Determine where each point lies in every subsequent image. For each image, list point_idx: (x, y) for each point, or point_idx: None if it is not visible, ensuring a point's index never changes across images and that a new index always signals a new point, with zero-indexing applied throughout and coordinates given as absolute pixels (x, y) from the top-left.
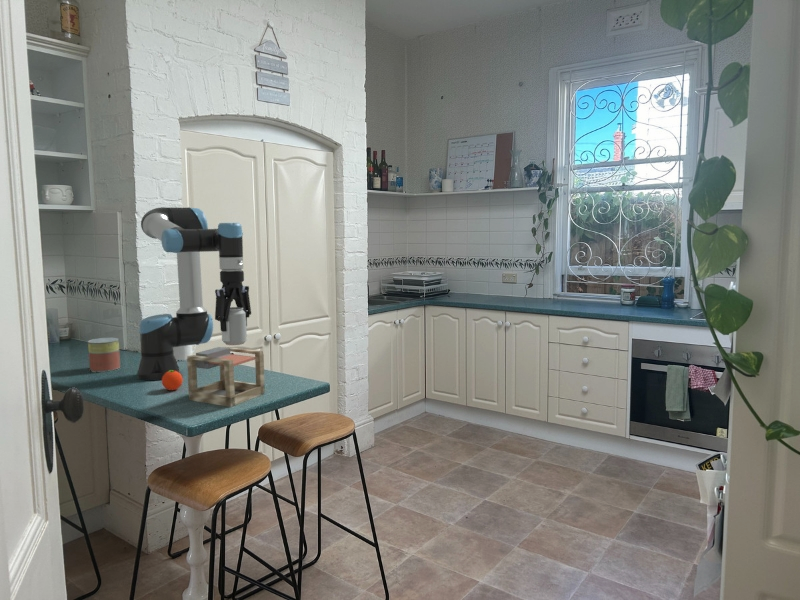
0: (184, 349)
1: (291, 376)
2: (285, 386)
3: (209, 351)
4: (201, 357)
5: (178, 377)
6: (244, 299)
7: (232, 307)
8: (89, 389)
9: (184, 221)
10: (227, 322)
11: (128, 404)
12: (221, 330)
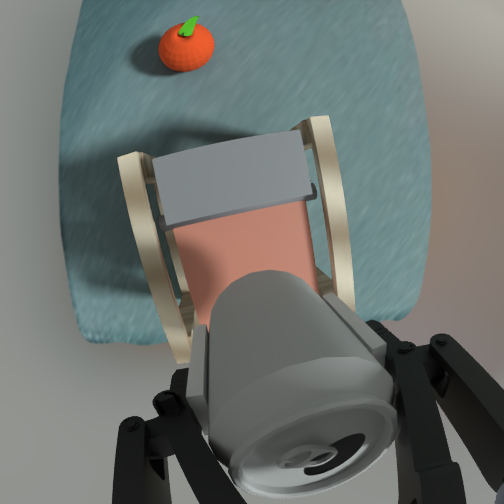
0: None
1: (429, 206)
2: (373, 261)
3: (209, 179)
4: (135, 234)
5: (188, 62)
6: (478, 437)
7: (373, 410)
8: None
9: None
10: (204, 430)
11: (65, 102)
12: (176, 376)
